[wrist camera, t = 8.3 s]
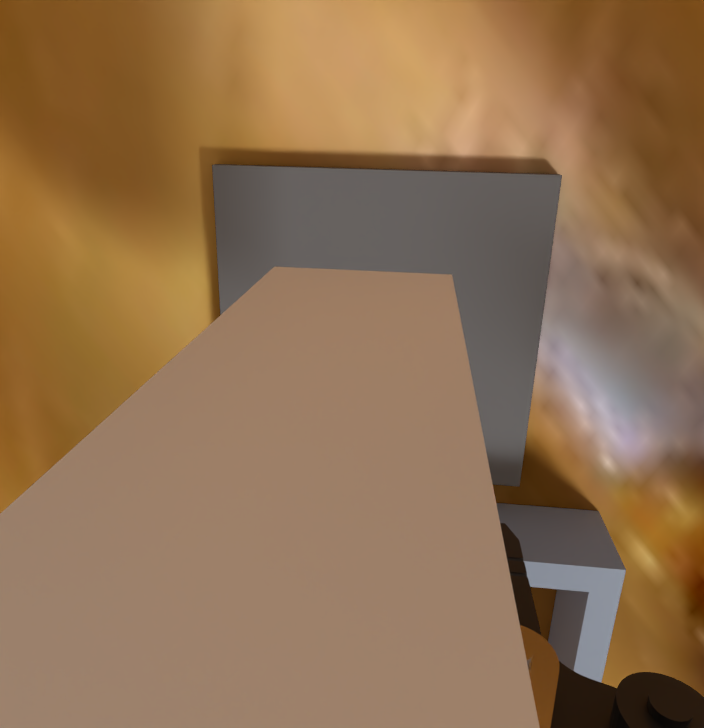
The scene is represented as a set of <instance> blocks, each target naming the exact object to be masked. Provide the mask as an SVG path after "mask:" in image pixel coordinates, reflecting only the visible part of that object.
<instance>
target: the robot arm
mask: <svg viewBox="0 0 704 728" xmlns="http://www.w3.org/2000/svg"><path fill="white" fill-rule="evenodd" d="M500 525H501V530H502V536H503V541H504V546H505V551H506V556H507V561H508V567H509V572H510V577H511V582H512V587H513V592H514V598H515V603H516V608H517V613H518V618H519V623H520V629H521V634H522V639H523V644H524V649H525V654H526V660H527V665H528V670H529V675H530V680H531V685H532V691H533V696H534V701H535V706H536V711H537V716H538V722H539V727H540V728H704V697H703V696H701V695H700V694H699V693H698V692H697V691H695V690H694V689H692V688H691V687H690V686H688V685H686V684H684V683H683V682H681V681H679V680H676V679H674V678H672V677H669V676H666V675H663V674H658V673H651V672H640V673H635V674H632V675H629V676H627V677H626V678H624V679H623V680H622V681H621V682H620V684H619V685H618V688H614V687H612V686H609V685H606V684H603V683H601V682H598V681H595V680H592V679H590V678H587V677H585V676H582V675H580V674H578V673H576V672H575V671H573V670H571V669H569V668H568V667H567V666H565V665H564V664H562V663H561V662H560V661H559V659H558V657H557V654H556V652H555V650H554V649H553V647H552V646H551V645H550V644H549V642H548V641H547V640H546V639H544V638H543V637H542V635H541V632H540V627H539V623H538V619H537V614H536V610H535V606H534V602H533V597H532V593H531V589H530V584H529V580H528V577H527V571H526V567H525V563H524V562H523V554H522V550H521V546H520V541H519V539H518V538H517V537H516V536H515V534H514V533H513V532H512V531H511V530H510V529H509V527H508V526H507V525H506V524H505V523H500Z"/></svg>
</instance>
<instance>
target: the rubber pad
mask: <svg viewBox="0 0 704 728" xmlns="http://www.w3.org/2000/svg"><path fill="white" fill-rule="evenodd" d="M212 169H213V188H214V206H215V224H216V242H217V260H218V279H219V297H220V315H221V314H222V313H223V312H225V311H226V310H227V309H228V308H229V307H230V306H231V305H232V304H233V303H235V302H236V301H237V300H238V299H239V298H240V297H241V296H242V295H243V294H245V293H246V292H247V291H248V290H249V289H250V288H251V287H252V286H253V285H255V284H256V283H257V282H258V281H259V280H260V279H261V278H262V277H263V276H265V275H266V274H267V273H268V272H269V271H270V270H271V269H272V268H273V267H294V268H316V269H339V270H361V271H384V272H406V273H428V274H451V275H452V277H453V282H454V288H455V293H456V298H457V303H458V308H459V313H460V319H461V324H462V329H463V334H464V339H465V344H466V350H467V355H468V360H469V365H470V370H471V375H472V381H473V386H474V391H475V396H476V401H477V406H478V412H479V417H480V422H481V427H482V432H483V437H484V443H485V448H486V453H487V458H488V463H489V468H490V474H491V479H492V484H493V485H506V486H520V479H521V472H522V464H523V457H524V450H525V442H526V435H527V428H528V420H529V413H530V406H531V398H532V391H533V384H534V376H535V369H536V362H537V354H538V347H539V340H540V332H541V325H542V318H543V310H544V303H545V296H546V288H547V281H548V274H549V266H550V259H551V252H552V244H553V237H554V230H555V222H556V215H557V208H558V200H559V193H560V186H561V178H562V175H559V174H531V173H497V172H463V171H429V170H395V169H361V168H327V167H293V166H259V165H225V164H216V165H212Z"/></svg>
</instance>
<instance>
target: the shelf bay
mask: <svg viewBox="0 0 704 728" xmlns="http://www.w3.org/2000/svg"><path fill="white" fill-rule="evenodd" d="M496 505H497V510H498V515H499V520H500V523H505V524H506V525H507V526H508V527H509V529H510V530H511V531H512V532H513V533H514V534H515V536H516V537H517V538H518V539H519V541H520V546H521V550H522V554H523V562H524V563H525V567H526V571H527V577H528V580H529V584H530V587H538V588H549V589H557V592H556V598H555V604H554V610H553V615H552V621H551V627H550V633H549V639H548V642H549V644H550V645H551V646H552V647H553V649H554V650H555V652H556V654H557V657H558V659H559V661H560V662H561V663H562V664H564V665H565V666H567V667H568V668H569V669H571V670H573V671H575V672H576V673H578V674H580V675H582V676H585V677H587V678H590V679H592V680H595V681H598V682H601V681H602V677H603V672H604V668H605V663H606V658H607V654H608V649H609V645H610V640H611V636H612V631H613V626H614V622H615V617H616V613H617V608H618V604H619V599H620V594H621V590H622V585H623V581H624V576H625V572H626V569H625V567H624V565H623V563H622V561H621V558H620V556H619V554H618V552H617V550H616V548H615V546H614V543H613V541H612V539H611V537H610V535H609V533H608V530H607V528H606V526H605V524H604V522H603V520H602V517H601V515H600V513H599V511H592V510H580V509H567V508H554V507H542V506H529V505H516V504H504V503H496Z"/></svg>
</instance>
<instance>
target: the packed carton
mask: <svg viewBox="0 0 704 728" xmlns="http://www.w3.org/2000/svg"><path fill="white" fill-rule="evenodd" d="M0 728H540V727H539V722H538V716H537V711H536V706H535V701H534V696H533V691H532V685H531V680H530V675H529V670H528V665H527V660H526V654H525V649H524V644H523V639H522V634H521V629H520V623H519V618H518V613H517V608H516V603H515V598H514V592H513V587H512V582H511V577H510V572H509V567H508V561H507V556H506V551H505V546H504V541H503V536H502V530H501V525H500V520H499V515H498V510H497V505H496V499H495V494H494V489H493V484H492V479H491V474H490V468H489V463H488V458H487V453H486V448H485V443H484V437H483V432H482V427H481V422H480V417H479V412H478V406H477V401H476V396H475V391H474V386H473V381H472V375H471V370H470V365H469V360H468V355H467V350H466V344H465V339H464V334H463V329H462V324H461V319H460V313H459V308H458V303H457V298H456V293H455V288H454V282H453V277H452V275H451V274H428V273H406V272H384V271H361V270H339V269H316V268H294V267H273V268H272V269H271V270H270V271H269V272H268V273H267V274H266V275H265V276H263V277H262V278H261V279H260V280H259V281H258V282H257V283H256V284H255V285H253V286H252V287H251V288H250V289H249V290H248V291H247V292H246V293H245V294H243V295H242V296H241V297H240V298H239V299H238V300H237V301H236V302H235V303H233V304H232V305H231V306H230V307H229V308H228V309H227V310H226V311H225V312H223V313H222V314H221V315H220V316H219V317H218V318H217V319H216V320H215V321H214V322H212V323H211V324H210V325H209V326H208V327H207V328H206V329H205V330H204V331H202V332H201V333H200V334H199V335H198V336H197V337H196V338H195V339H194V340H192V341H191V342H190V343H189V344H188V345H187V346H186V347H185V348H184V349H182V350H181V351H180V352H179V353H178V354H177V355H176V356H175V357H174V358H172V359H171V360H170V361H169V362H168V363H167V364H166V365H165V366H164V367H163V368H161V369H160V370H159V371H158V372H157V373H156V374H155V375H154V376H153V377H151V378H150V379H149V380H148V381H147V382H146V383H145V384H144V385H143V386H141V387H140V388H139V389H138V390H137V391H136V392H135V393H134V394H133V395H131V396H130V397H129V398H128V399H127V400H126V401H125V402H124V403H123V404H121V405H120V406H119V407H118V408H117V409H116V410H115V411H114V412H113V413H111V414H110V415H109V416H108V417H107V418H106V419H105V420H104V421H103V422H102V423H100V424H99V425H98V426H97V427H96V428H95V429H94V430H93V431H92V432H90V433H89V434H88V435H87V436H86V437H85V438H84V439H83V440H82V441H80V442H79V443H78V444H77V445H76V446H75V447H74V448H73V449H72V450H70V451H69V452H68V453H67V454H66V455H65V456H64V457H63V458H62V459H60V460H59V461H58V462H57V463H56V464H55V465H54V466H53V467H52V468H51V469H49V470H48V471H47V472H46V473H45V474H44V475H43V476H42V477H41V478H39V479H38V480H37V481H36V482H35V483H34V484H33V485H32V486H31V487H29V488H28V489H27V490H26V491H25V492H24V493H23V494H22V495H21V496H19V497H18V498H17V499H16V500H15V501H14V502H13V503H12V504H11V505H9V506H8V507H7V508H6V509H5V510H4V511H3V512H2V513H1V514H0Z"/></svg>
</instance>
